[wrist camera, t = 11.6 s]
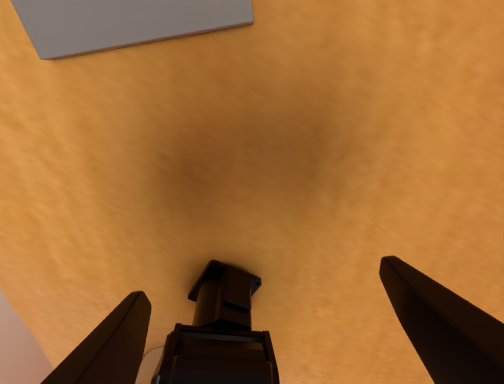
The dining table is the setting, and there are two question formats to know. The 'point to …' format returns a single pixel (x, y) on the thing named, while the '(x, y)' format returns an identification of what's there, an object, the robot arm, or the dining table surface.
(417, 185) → the dining table surface
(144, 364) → the reusable coffee cup
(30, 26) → the socket board
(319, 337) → the dining table surface
